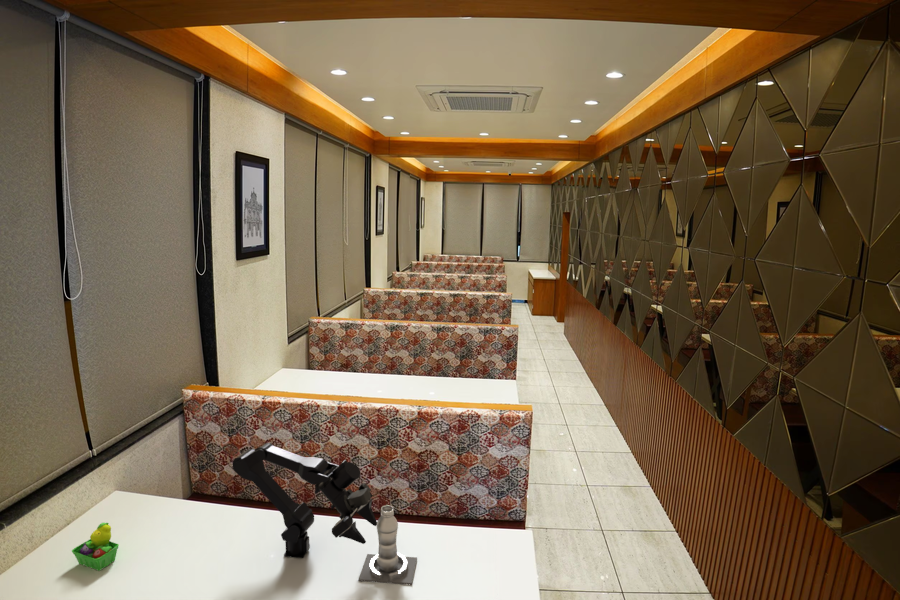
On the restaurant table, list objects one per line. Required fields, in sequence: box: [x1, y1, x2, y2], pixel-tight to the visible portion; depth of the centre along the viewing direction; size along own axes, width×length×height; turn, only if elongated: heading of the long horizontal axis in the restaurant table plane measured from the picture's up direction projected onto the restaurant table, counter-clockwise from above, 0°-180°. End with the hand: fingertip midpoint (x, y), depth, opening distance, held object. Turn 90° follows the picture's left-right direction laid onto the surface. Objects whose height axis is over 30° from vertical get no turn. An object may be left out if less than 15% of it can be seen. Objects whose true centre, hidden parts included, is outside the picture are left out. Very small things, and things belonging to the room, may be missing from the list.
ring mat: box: [358, 553, 418, 586], centre depth 164 cm, size 16×12×1 cm
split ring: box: [370, 551, 407, 581], centre depth 163 cm, size 11×11×2 cm
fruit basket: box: [71, 522, 120, 571], centre depth 164 cm, size 11×9×11 cm
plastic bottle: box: [376, 505, 399, 572], centre depth 162 cm, size 6×7×20 cm
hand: (370, 533), depth 163 cm, fingers open, 9 cm apart
